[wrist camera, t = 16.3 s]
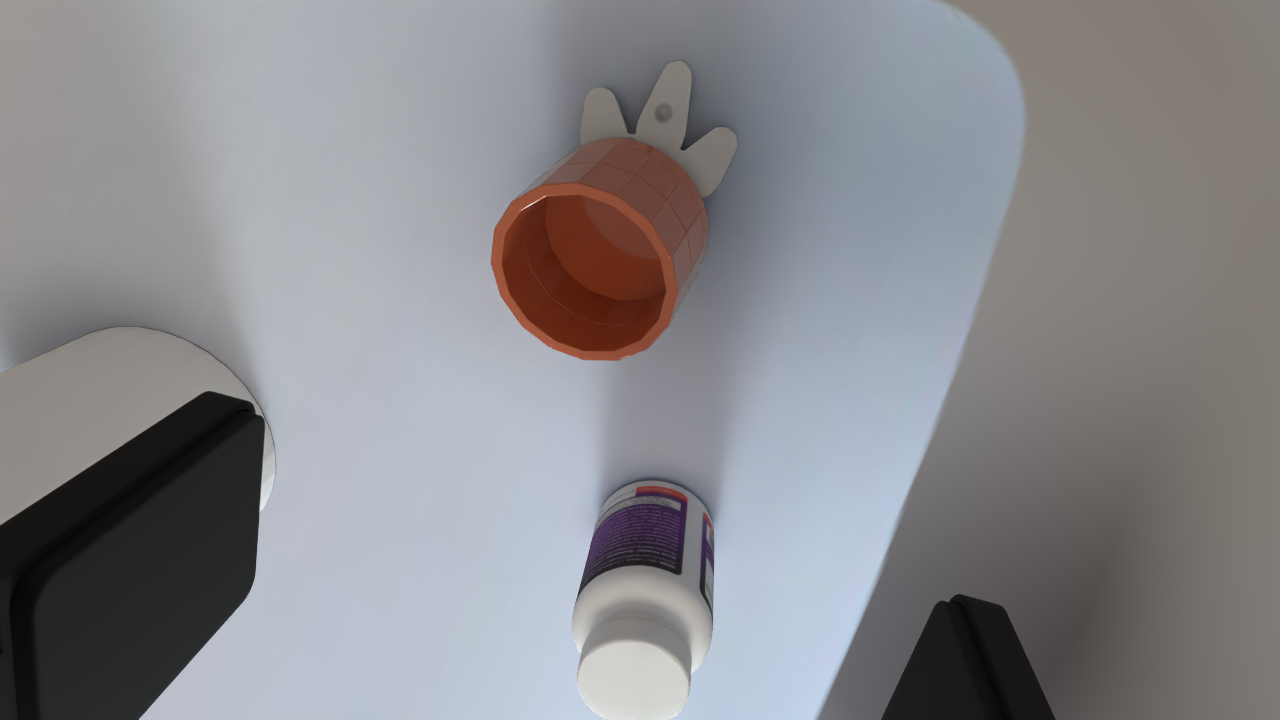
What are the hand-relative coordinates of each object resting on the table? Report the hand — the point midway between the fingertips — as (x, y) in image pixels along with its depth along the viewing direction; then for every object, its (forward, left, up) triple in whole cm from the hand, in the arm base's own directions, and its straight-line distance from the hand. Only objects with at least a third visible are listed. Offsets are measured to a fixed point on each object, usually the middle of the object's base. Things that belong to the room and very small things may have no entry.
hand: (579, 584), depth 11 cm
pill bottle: (-3, +14, -23) cm, 27 cm away
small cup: (+2, 0, -21) cm, 21 cm away
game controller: (+2, 0, -23) cm, 23 cm away
